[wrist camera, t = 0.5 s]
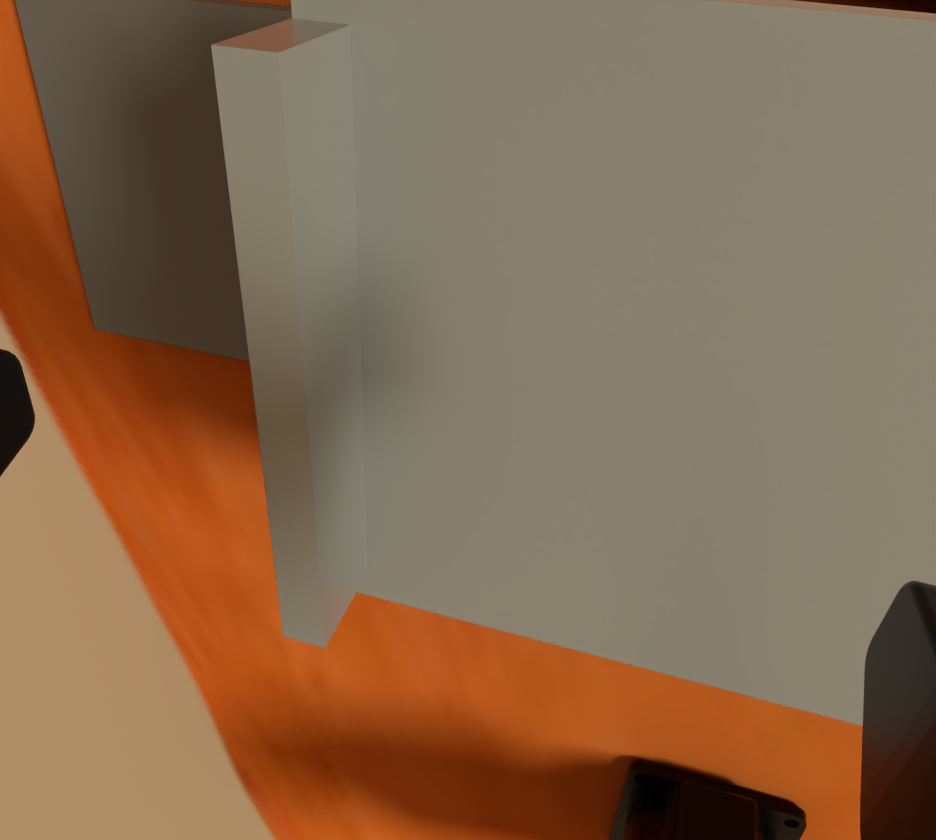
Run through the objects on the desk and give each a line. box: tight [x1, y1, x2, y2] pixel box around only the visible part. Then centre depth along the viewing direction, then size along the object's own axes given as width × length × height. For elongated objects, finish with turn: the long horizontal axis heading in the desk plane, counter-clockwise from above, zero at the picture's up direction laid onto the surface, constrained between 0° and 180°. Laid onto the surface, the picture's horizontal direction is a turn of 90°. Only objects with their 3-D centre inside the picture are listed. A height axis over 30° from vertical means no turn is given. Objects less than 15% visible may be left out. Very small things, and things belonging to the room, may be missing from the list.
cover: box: [211, 0, 936, 726], centre depth 16 cm, size 14×14×8 cm
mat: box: [15, 0, 292, 362], centre depth 23 cm, size 10×8×1 cm
